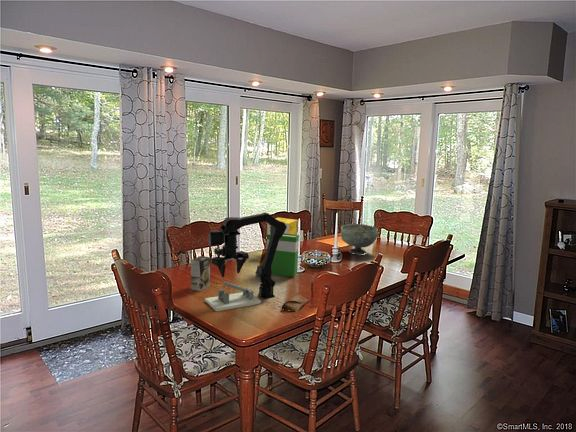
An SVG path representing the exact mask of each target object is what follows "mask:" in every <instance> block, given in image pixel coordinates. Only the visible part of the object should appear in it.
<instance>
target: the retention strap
mask: <svg viewBox="0 0 576 432" xmlns="http://www.w3.org/2000/svg"><path fill="white" fill-rule="evenodd" d="M222 284H223V285H224V286H226V287H230V288H232V289H234V290H239V291H240V292H243V291H244V292H247V293H249V292H252V291H251V290H250V289H249V288H248V287H242V286H239V285H238V284H235V283H231V282H228V281H225V280H223V281H222ZM247 288H248V289H247Z"/></svg>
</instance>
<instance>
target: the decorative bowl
mask: <svg viewBox="0 0 576 432" xmlns="http://www.w3.org/2000/svg"><path fill="white" fill-rule="evenodd" d="M340 228H341V229H340V230H341V231H340V233H341V234H340V235H341V237H340V238H341V240H342V242H344V243H346V244H347V245H348V246H351V247H354V248H351V249H349V251H348V253H349V252H351V253H354V254H364V253H366V252H367V251H366V250H365V249H363V248H367V247H370V246H371V245H373V244H374V243H375V242H376V240H377V238H378V236H379V232H378V231H379V228H378V227H376V226H372V225H368V224H363V223H361V224H360V223H348V224H344V225H342V226H340Z"/></svg>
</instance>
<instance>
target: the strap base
mask: <svg viewBox="0 0 576 432" xmlns="http://www.w3.org/2000/svg"><path fill="white" fill-rule="evenodd" d="M246 288H247V289H248V290H249V288H248V287H246ZM217 291H218V292H217V293H218V295H217V296H212V297H205V298H204V299H205V303H206V304H208V305H209V306H210V307H211V308H212V309H213V310H214V311H215V312H221V311H222V312H223V311H226V310H232V309H238V308H243V307H248V306H249V307H250V306H254V305H260V304H261V303H262V301H261V299H260V298H258V297H257V296H255V295H254V291H251V292H249V293H247V292H244V291H240V292H237V293H236V292H235V293H228V292H227V293H225V289H223V288H222V289H218V290H217Z"/></svg>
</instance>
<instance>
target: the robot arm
mask: <svg viewBox="0 0 576 432" xmlns="http://www.w3.org/2000/svg"><path fill="white" fill-rule="evenodd" d="M275 218H276V217H273V215H271V214H270V213H269V212H262V213H256V214H252V215H248V216H242V217H237V216H235V217H234V216H230V217H229V216H228V217H225V218H224V219H223V221H222V225H221V226H220V227H219V229H218V230H216V231H209V233H208V237H207V243H208V246H209V247H212V246H221V247H222V248H220V247H215V248H214V250H213V252H214V255H215V256H213V257H212V258H210V264H212V265H214V266H216V267H217V268H218V271H219V273H220V275H221V277H222V278H224V277H225V274H226V273H225V272H226V266H227V265H226V262H229V261H232V260H233V261H234V260H235V261H236V273H237V274H240V272H241V270H242V268H243V265H244V264H245V262H246V261H248V259H249V258H250V255H249V253H248V252H245V251H243V250H239V251H237V250H238V248H239V246H238V245H237V236H240V235H241V232H239V230H240V229H242V228H243V227H245V226H251V225H255V224H259V223H260V224H261V223H266V224H267V223H268V224H269V225H270V226H271V227H270V240H269V244H268V247H267V250H266V249H265V254H264V257H263V261H262V263H261V264H260V265H257V267H256V270H255V272H254V273H255V276H256V279H257V280H258V281H259V287H258V293H257V295H258V296H260V297H261V298H262V299H270V298H275V297H276V296H275V294H274V287H275V285H276V281H275V280H274V279H273V278H272V268H271V266H272V263H273V259H274V256H275V253H276V249H277V246H278V242H279V240H280V238H281V237H282V236H283V234H284V232H285V230H286V225H285V223H284V222H281V221H279V220H276V219H275ZM216 255H217V256H216Z"/></svg>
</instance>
